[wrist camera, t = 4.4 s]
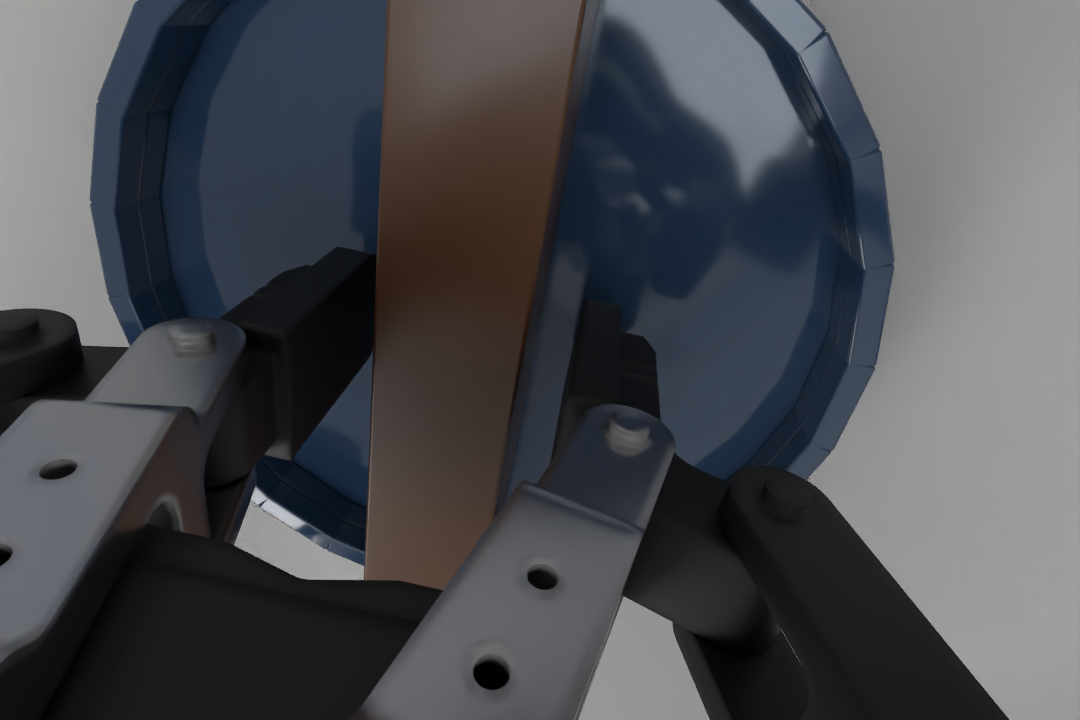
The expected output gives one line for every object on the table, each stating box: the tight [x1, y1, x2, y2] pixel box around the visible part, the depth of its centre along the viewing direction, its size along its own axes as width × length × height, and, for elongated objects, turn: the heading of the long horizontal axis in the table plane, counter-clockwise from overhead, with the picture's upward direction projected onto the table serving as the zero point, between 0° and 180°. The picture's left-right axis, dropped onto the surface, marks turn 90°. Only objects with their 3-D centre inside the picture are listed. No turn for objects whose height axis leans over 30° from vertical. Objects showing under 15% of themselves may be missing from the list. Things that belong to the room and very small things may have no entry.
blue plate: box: [90, 0, 894, 566], centre depth 12 cm, size 15×15×2 cm
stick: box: [364, 0, 599, 590], centre depth 11 cm, size 12×2×3 cm, turn 170°
